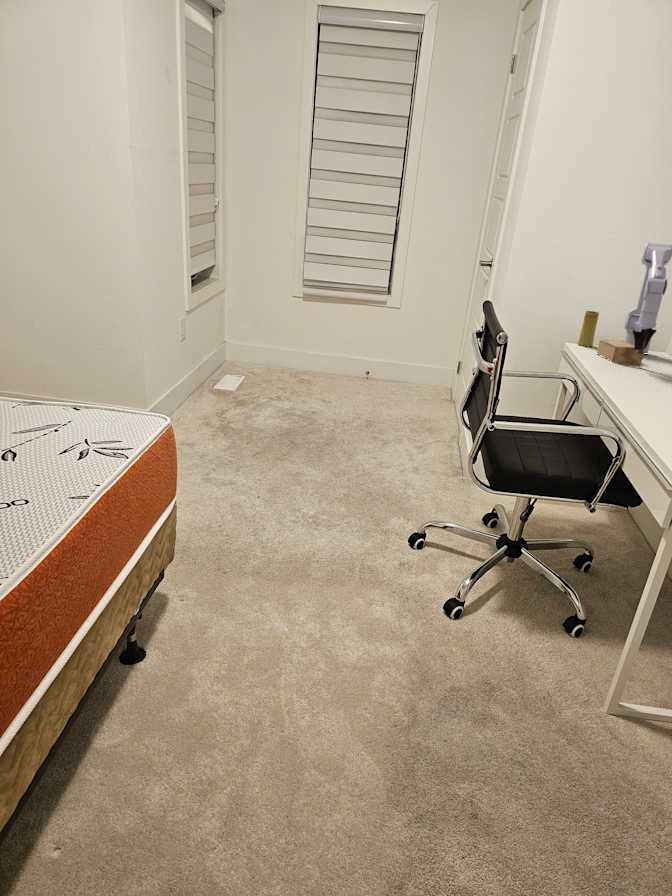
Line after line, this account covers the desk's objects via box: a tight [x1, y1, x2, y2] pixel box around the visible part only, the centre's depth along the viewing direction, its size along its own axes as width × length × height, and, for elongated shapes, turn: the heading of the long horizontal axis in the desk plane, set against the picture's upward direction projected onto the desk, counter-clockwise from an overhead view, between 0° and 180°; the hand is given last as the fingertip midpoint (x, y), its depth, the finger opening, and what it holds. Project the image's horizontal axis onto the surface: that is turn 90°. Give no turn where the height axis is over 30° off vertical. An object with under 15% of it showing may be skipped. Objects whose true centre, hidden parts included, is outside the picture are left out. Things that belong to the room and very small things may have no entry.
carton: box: [596, 339, 638, 362], centre depth 241 cm, size 10×11×6 cm
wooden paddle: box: [612, 339, 647, 368], centre depth 231 cm, size 10×2×11 cm, turn 51°
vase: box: [577, 310, 600, 347], centre depth 259 cm, size 6×6×14 cm
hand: (640, 348), depth 227 cm, fingers open, 4 cm apart
